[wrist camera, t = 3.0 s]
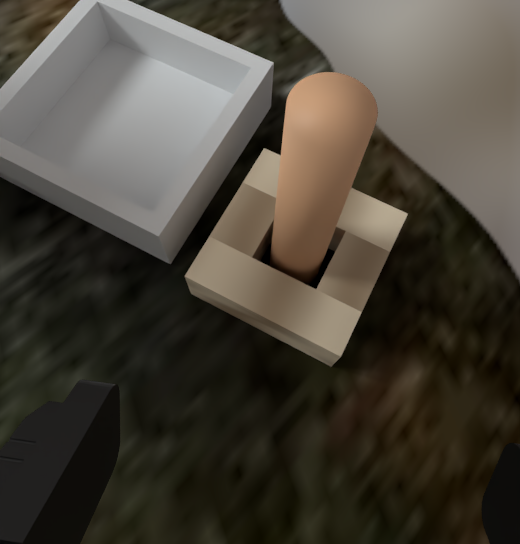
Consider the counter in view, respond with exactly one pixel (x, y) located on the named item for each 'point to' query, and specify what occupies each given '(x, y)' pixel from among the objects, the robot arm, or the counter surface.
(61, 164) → the tray
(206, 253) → the dowel holder
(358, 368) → the counter surface
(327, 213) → the dowel
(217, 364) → the counter surface
